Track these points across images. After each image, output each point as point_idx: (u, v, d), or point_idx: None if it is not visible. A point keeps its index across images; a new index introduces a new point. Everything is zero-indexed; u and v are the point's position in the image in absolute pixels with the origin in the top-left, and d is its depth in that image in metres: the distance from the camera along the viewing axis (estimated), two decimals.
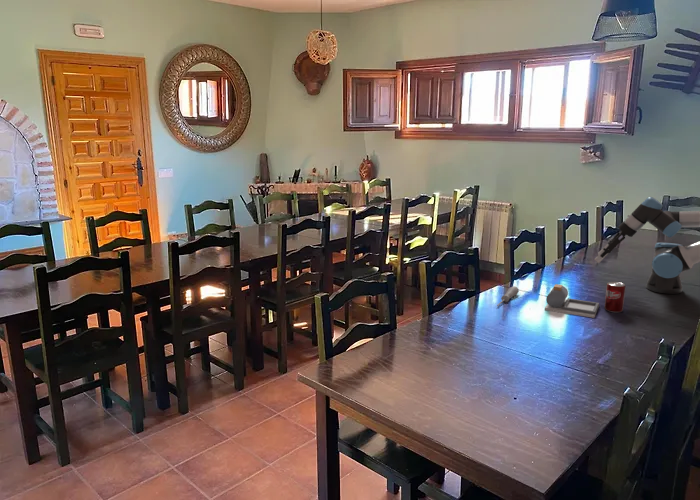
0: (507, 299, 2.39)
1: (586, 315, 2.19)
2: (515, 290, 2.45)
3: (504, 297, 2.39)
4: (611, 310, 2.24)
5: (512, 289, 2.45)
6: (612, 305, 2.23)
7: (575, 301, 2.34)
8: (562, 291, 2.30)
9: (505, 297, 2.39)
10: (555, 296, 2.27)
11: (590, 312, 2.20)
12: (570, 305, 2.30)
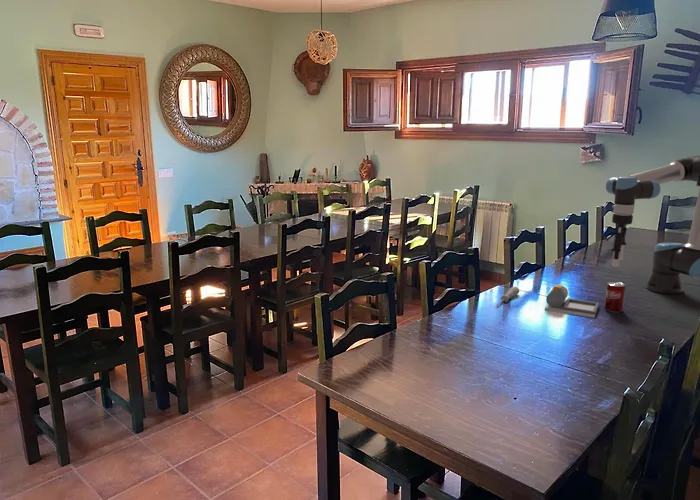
0: (507, 299, 2.39)
1: (586, 315, 2.19)
2: (515, 290, 2.45)
3: (504, 297, 2.39)
4: (611, 310, 2.24)
5: (512, 289, 2.45)
6: (612, 305, 2.23)
7: (575, 301, 2.34)
8: (562, 291, 2.30)
9: (505, 297, 2.39)
10: (555, 296, 2.27)
11: (590, 312, 2.20)
12: (570, 305, 2.30)
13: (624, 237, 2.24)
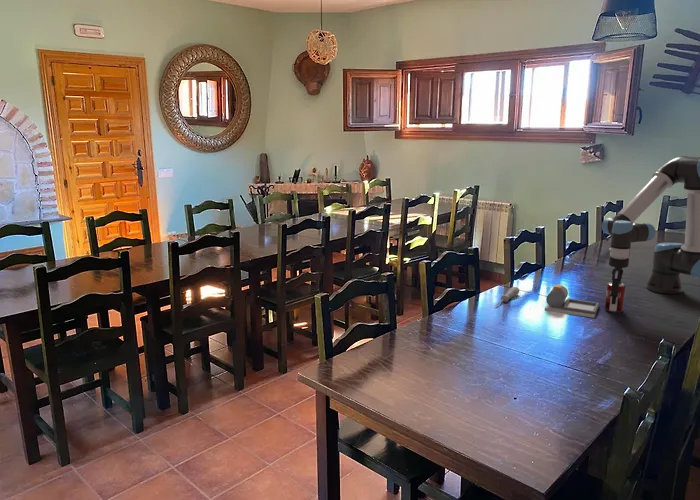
0: (506, 299, 2.39)
1: (586, 315, 2.19)
2: (515, 290, 2.45)
3: (503, 297, 2.39)
4: None
5: (512, 289, 2.45)
6: None
7: (575, 301, 2.34)
8: (562, 291, 2.30)
9: (504, 297, 2.39)
10: (555, 296, 2.27)
11: (590, 312, 2.20)
12: (570, 305, 2.30)
13: (620, 282, 2.27)
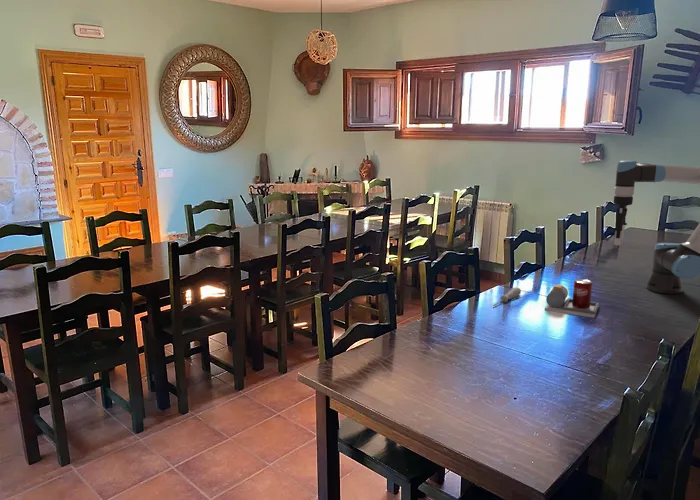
0: (506, 299, 2.38)
1: (586, 315, 2.19)
2: (516, 291, 2.44)
3: (503, 297, 2.39)
4: (578, 307, 2.25)
5: (513, 290, 2.44)
6: (579, 302, 2.24)
7: None
8: (562, 291, 2.30)
9: (504, 297, 2.39)
10: (555, 296, 2.27)
11: (590, 312, 2.20)
12: (570, 305, 2.30)
13: (625, 218, 2.38)
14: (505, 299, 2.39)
